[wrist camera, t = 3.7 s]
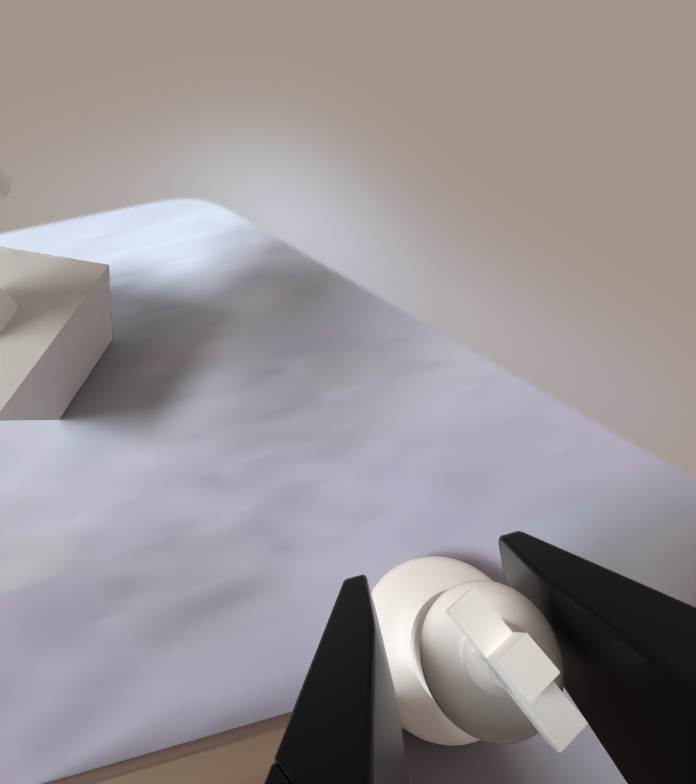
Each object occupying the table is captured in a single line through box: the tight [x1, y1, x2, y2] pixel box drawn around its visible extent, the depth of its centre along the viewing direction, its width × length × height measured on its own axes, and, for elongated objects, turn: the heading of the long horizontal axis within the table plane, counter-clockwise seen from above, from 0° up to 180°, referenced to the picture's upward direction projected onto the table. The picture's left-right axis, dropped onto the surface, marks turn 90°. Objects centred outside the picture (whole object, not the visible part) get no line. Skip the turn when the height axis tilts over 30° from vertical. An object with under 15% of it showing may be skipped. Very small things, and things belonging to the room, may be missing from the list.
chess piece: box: [371, 556, 588, 753], centre depth 9 cm, size 5×5×10 cm
